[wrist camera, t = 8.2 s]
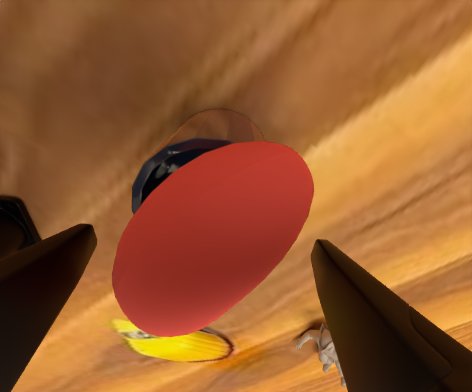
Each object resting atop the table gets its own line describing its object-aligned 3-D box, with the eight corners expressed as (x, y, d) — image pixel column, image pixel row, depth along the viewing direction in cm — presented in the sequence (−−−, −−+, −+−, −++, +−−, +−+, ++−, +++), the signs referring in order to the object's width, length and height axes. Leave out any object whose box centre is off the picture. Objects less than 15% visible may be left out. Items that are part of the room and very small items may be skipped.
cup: (262, 202, 19) (274, 272, 12) (175, 196, 19) (141, 264, 12) (276, 113, 15) (304, 146, 9) (168, 104, 15) (116, 131, 9)
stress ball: (111, 189, 11) (58, 333, 8) (231, 64, 6) (210, 369, 3) (194, 220, 15) (179, 333, 11) (325, 158, 9) (368, 349, 6)
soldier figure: (303, 355, 34) (279, 346, 25) (317, 324, 35) (298, 306, 27) (358, 398, 28) (350, 405, 20) (372, 360, 30) (370, 352, 22)
